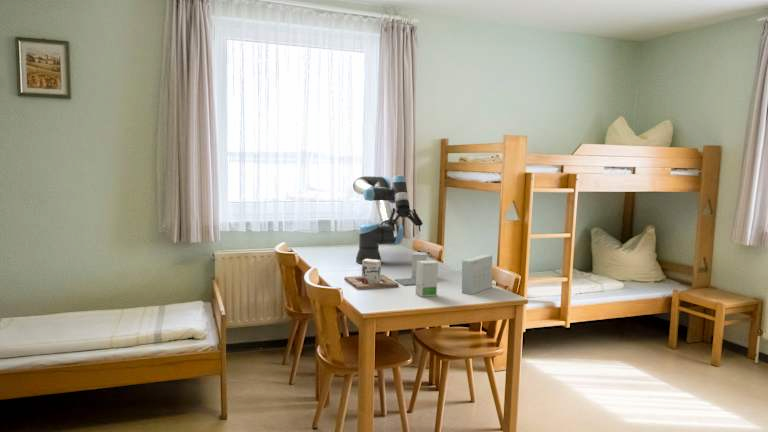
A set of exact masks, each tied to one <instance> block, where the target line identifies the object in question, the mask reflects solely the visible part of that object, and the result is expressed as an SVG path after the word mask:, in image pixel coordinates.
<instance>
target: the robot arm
mask: <svg viewBox="0 0 768 432" xmlns="http://www.w3.org/2000/svg"><path fill="white" fill-rule="evenodd" d="M405 177H406V176H404V175H395V176H393V177H392V182H391V181H390V179H389V178H388V177H387V176H360V177H358V178H356V179H355V180H354V181H353V184H352V189H353V191H354V192H355V193H357V194H358V195H363V199H364V200H365V201H375V205H376V208H377V209H376V210H377V213H378V217H379V221H380V223H379V222H367V223H362V224H361V225H360V226H359V232H358V234H359V236H358V242H359V243H358V251H357V254H356V257H355V263H356V264H361V265H362V260H364V259H375V260H380V261H381V262H382V257H381V254H380V251H379V249H380V248H379V247H380V246H379V245H394V246H395V245H399V244H401V243H402V242H403V237H404V226H403V225H402V224H399V222H398V219H399V218H405V219H406V218H407V219H409V221H411V222H412V223H413V224H414V225H415V228H414V229H415V234H416V239H419V238H420V237H421V233H420V232H421V226H422V225H423V221H422V220H421V218H420V217H419V215H418V213H417V212H416V209H414V208H413V209H411V208H410V207H411V206H410V201H409V195H408V194H409V193H408V188H407V187H408V186H407V180H406V178H405ZM391 183H392V186H391ZM391 204H395V207H396V208H394V207H393V208H392V206H391ZM395 214H397V216H396V217H395V216H394V215H395Z"/></svg>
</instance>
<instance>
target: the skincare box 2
mask: <svg viewBox="0 0 768 432" xmlns="http://www.w3.org/2000/svg"><path fill="white" fill-rule="evenodd" d="M490 288H493V255H489V254H482V255H477V256H472V257H470V258H466V259H465V258H464V259H463V260H462V261H461V294H466V295H471V296H472V295H474V294H476V293H479V292H482V291H485V290H487V289H490Z"/></svg>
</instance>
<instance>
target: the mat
mask: <svg viewBox="0 0 768 432" xmlns="http://www.w3.org/2000/svg"><path fill="white" fill-rule="evenodd" d="M394 282H396V283H398V284H400V285H402V286H403V287H406V286H416V278H412V277H410V278H396V279H395V278H394Z"/></svg>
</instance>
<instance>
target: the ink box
mask: <svg viewBox="0 0 768 432" xmlns="http://www.w3.org/2000/svg"><path fill="white" fill-rule="evenodd" d="M381 267H382V260H381V261H380V260H375V259H364V260H362V264H361V276H362V281H361V283H362V284H372V283H381V281H380V275H382V274H381V272H382V271H381V270H382V268H381Z"/></svg>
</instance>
